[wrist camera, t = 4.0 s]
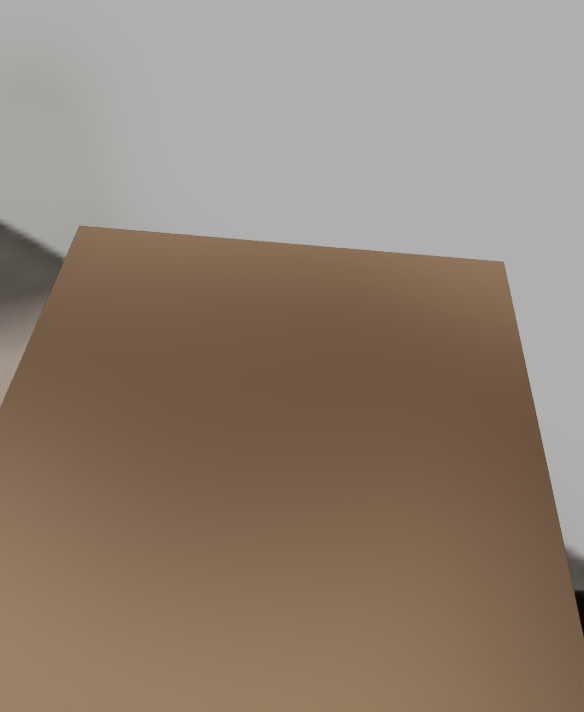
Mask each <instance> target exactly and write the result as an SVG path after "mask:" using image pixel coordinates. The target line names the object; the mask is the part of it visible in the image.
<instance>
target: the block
mask: <svg viewBox="0 0 584 712" xmlns="http://www.w3.org/2000/svg"><path fill="white" fill-rule="evenodd" d="M0 712H584V636H583V632H582V627H581V622H580V618H579V613H578V608H577V604H576V599H575V594H574V589H573V585H572V580H571V575H570V571H569V566H568V561H567V557H566V552H565V547H564V543H563V538H562V533H561V528H560V524H559V519H558V515H557V510H556V505H555V501H554V496H553V491H552V486H551V482H550V477H549V473H548V467H547V463H546V458H545V453H544V449H543V444H542V439H541V434H540V430H539V425H538V421H537V416H536V411H535V406H534V402H533V397H532V392H531V388H530V383H529V378H528V374H527V369H526V364H525V359H524V355H523V350H522V345H521V341H520V336H519V331H518V326H517V322H516V317H515V312H514V308H513V303H512V298H511V294H510V289H509V284H508V280H507V275H506V270H505V265H504V262H499V261H487V260H476V259H464V258H452V257H440V256H428V255H416V254H404V253H392V252H381V251H369V250H358V249H346V248H334V247H323V246H311V245H299V244H287V243H275V242H263V241H251V240H239V239H227V238H216V237H204V236H193V235H181V234H170V233H158V232H146V231H134V230H122V229H111V228H99V227H87V226H79V228H78V230H77V233H76V235H75V237H74V240H73V242H72V244H71V247H70V249H69V251H68V253H67V256H66V258H65V260H64V262H63V265H62V267H61V269H60V272H59V274H58V276H57V279H56V281H55V283H54V285H53V288H52V290H51V292H50V295H49V297H48V299H47V301H46V304H45V306H44V308H43V311H42V313H41V315H40V317H39V320H38V322H37V324H36V327H35V329H34V331H33V333H32V336H31V338H30V340H29V343H28V345H27V347H26V350H25V352H24V354H23V356H22V359H21V361H20V363H19V366H18V368H17V370H16V372H15V375H14V377H13V379H12V382H11V384H10V386H9V388H8V391H7V393H6V395H5V398H4V400H3V402H2V405H1V407H0Z"/></svg>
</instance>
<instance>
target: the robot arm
mask: <svg viewBox="0 0 584 712" xmlns="http://www.w3.org/2000/svg"><path fill="white" fill-rule="evenodd" d="M574 594H575V599H576V604H577V608H578V613H579V618H580V622H581V627H582V632H583V636H584V591H582V590H574Z"/></svg>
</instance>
